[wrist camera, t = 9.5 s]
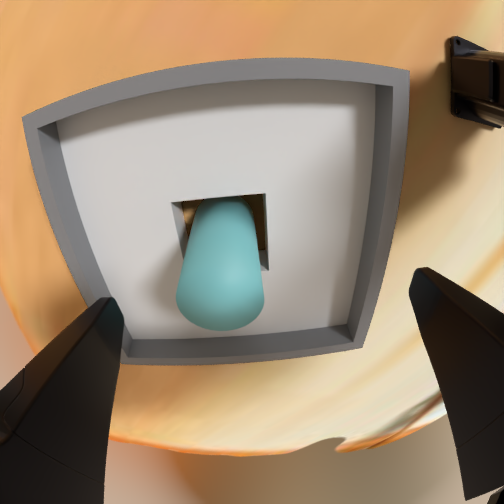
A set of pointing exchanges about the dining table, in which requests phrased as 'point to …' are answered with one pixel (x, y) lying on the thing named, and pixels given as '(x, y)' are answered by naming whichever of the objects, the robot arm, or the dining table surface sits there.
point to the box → (230, 184)
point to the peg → (221, 267)
